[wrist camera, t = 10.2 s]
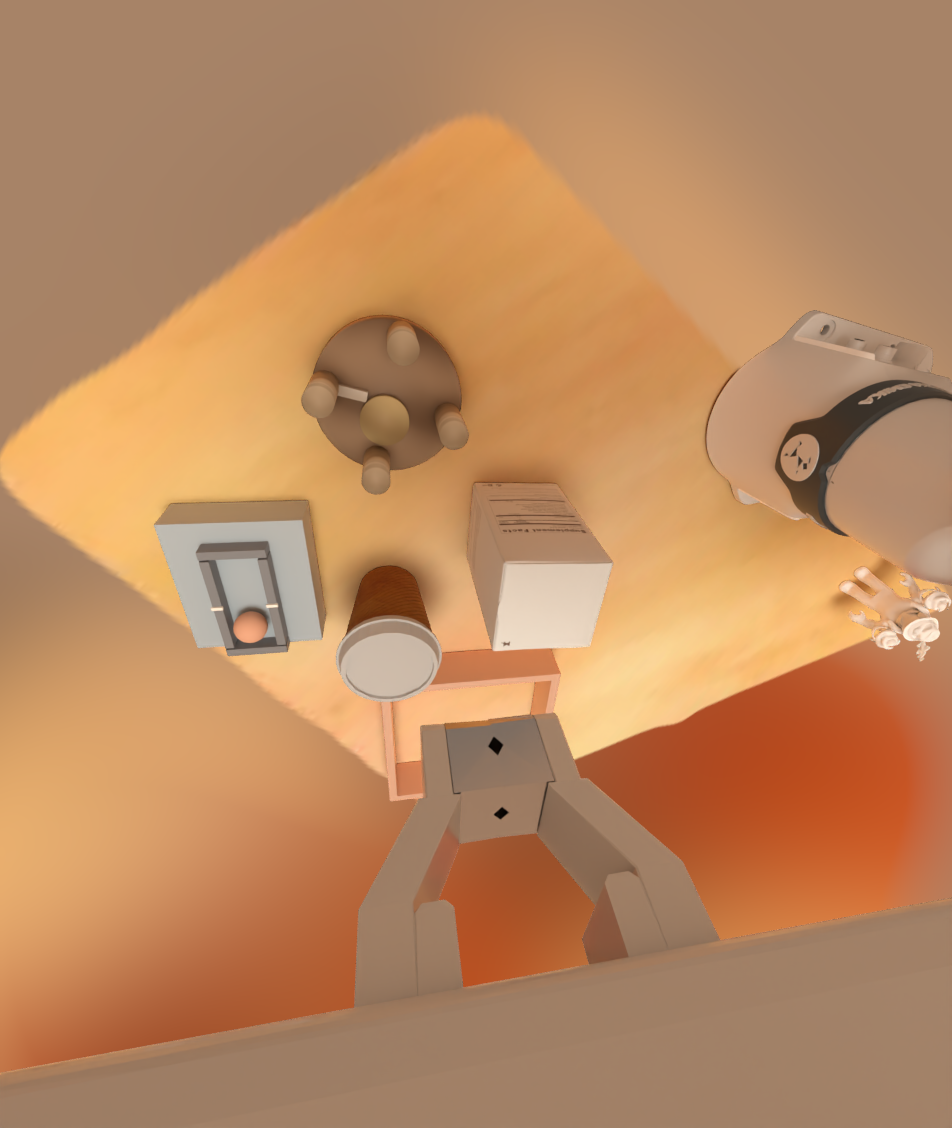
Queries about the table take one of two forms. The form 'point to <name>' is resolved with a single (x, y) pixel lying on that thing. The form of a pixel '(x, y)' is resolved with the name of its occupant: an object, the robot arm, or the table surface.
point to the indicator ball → (250, 627)
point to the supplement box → (534, 567)
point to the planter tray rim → (470, 673)
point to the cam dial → (386, 397)
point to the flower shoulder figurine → (897, 610)
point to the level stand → (245, 571)
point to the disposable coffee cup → (388, 639)
